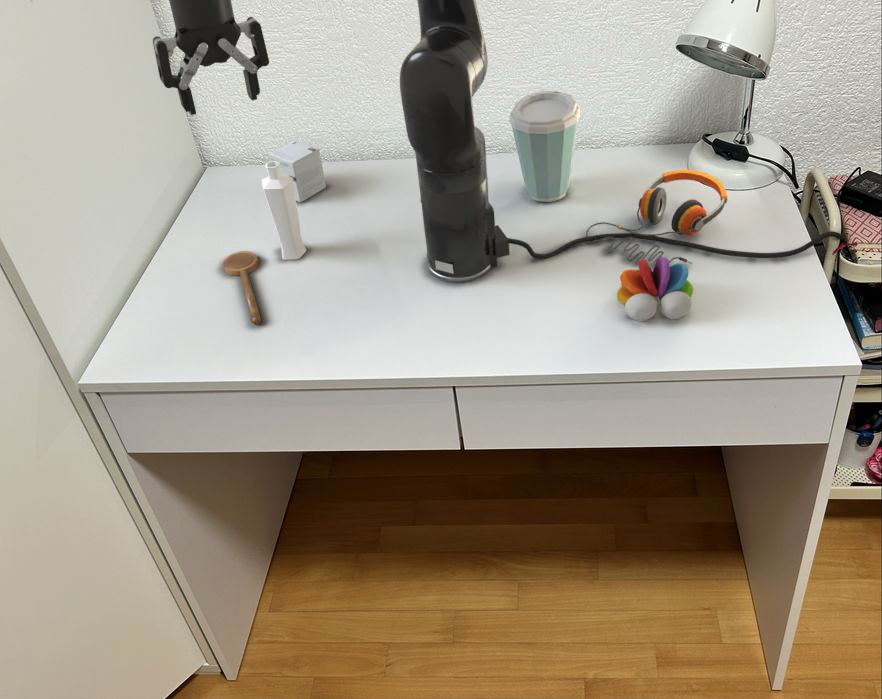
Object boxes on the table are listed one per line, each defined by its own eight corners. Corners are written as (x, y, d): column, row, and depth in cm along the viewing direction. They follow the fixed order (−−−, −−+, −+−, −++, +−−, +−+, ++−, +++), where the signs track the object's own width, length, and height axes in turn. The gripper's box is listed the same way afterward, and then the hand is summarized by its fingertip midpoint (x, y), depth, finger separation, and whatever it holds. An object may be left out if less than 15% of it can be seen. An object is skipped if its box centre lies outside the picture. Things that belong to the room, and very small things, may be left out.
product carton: (276, 193, 146) (267, 153, 141) (303, 177, 149) (294, 138, 144) (301, 203, 143) (292, 163, 138) (327, 187, 146) (319, 147, 141)
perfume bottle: (311, 243, 133) (291, 155, 123) (305, 260, 130) (284, 170, 120) (282, 244, 134) (260, 156, 124) (275, 260, 130) (252, 172, 121)
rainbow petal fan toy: (612, 288, 118) (614, 243, 113) (685, 284, 117) (690, 238, 112) (620, 327, 111) (623, 281, 107) (697, 323, 111) (703, 277, 106)
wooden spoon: (222, 260, 132) (220, 254, 131) (255, 252, 132) (254, 245, 132) (239, 331, 118) (237, 324, 117) (276, 321, 119) (275, 314, 118)
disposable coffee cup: (561, 215, 133) (561, 124, 123) (499, 201, 138) (495, 112, 128) (590, 183, 139) (592, 94, 130) (530, 170, 144) (528, 84, 135)
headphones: (574, 226, 125) (655, 145, 132) (579, 252, 129) (657, 172, 136) (674, 269, 116) (756, 179, 122) (675, 295, 119) (755, 207, 126)
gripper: (146, 3, 103) (178, 128, 114) (260, -20, 108) (281, 103, 118) (132, -15, 108) (164, 107, 119) (242, -36, 113) (263, 83, 123)
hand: (223, 105), depth 119 cm, fingers open, 8 cm apart
